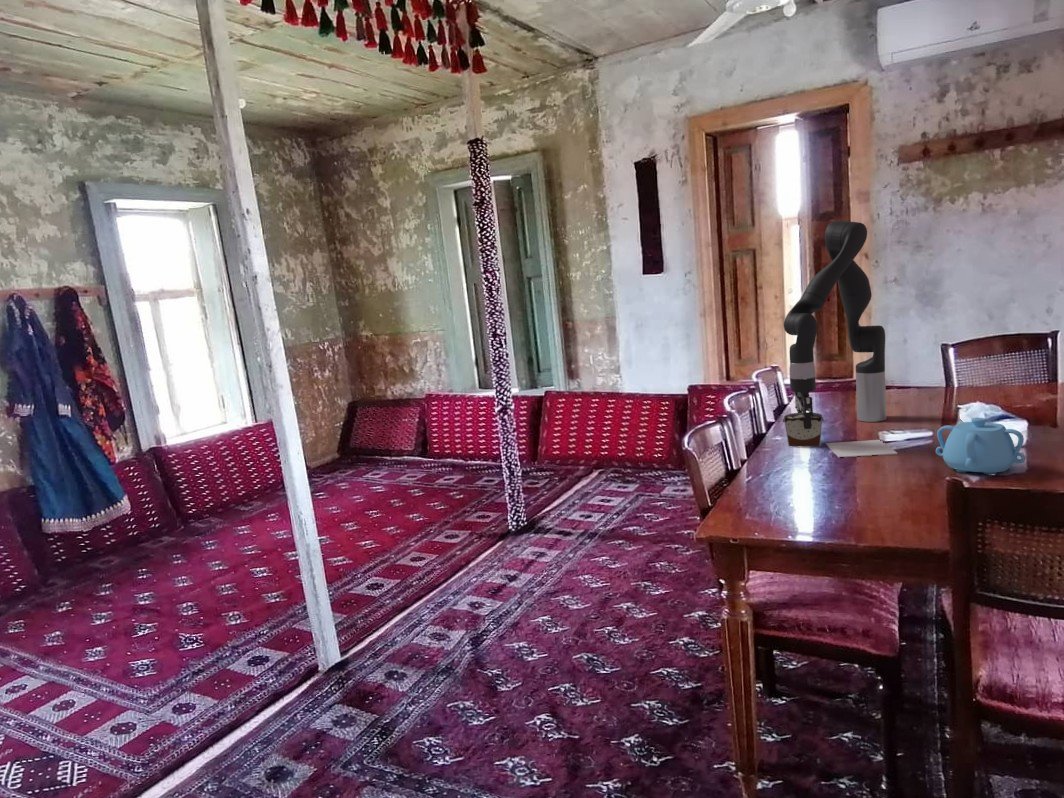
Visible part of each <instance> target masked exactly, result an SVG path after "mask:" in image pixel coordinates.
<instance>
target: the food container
mask: <svg viewBox="0 0 1064 798" xmlns="http://www.w3.org/2000/svg"><path fill="white" fill-rule="evenodd" d="M808 412H809V411H806V413H808ZM782 418H783V419H782V423H784V427H785V432H786V437H787V444H788V445H787V446H788V447H789V446H820V447H821V442H822V441H821V440H822V425H823V423H825V420H824V417H823V415H822V414H821V413H817V412H813V416H812V417H811V429H804V425H803V414H802V413H798V412H794V413H788V414H785V415H784V416H783V417H782Z"/></svg>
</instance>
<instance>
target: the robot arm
mask: <svg viewBox="0 0 1064 798" xmlns="http://www.w3.org/2000/svg"><path fill="white" fill-rule="evenodd" d="M867 238H868V230H867V227H866V225H865V223H862V222H859V221H858V222H857V221H848V220H847V221H846V220H845V221H844V220H835V221H832V222H830V223H829V224H828V225H827V226H826V229H825V233H824V242H825V246H826V250H827V252H828V255H829V257H830V260H831V261H830V263H828V264H827V265H826V266H825V267H824V268H822V269H821V270H820V271H819V272H817V273H816V274H815V275H814V276H813V277H812V278H811V279H810V281H809V283H808V284H807V287H806V288H805V290H804V291H803V294H802V295H801V298H799V300H798V301H797V302H796V303H795V305H793V306H792V307H791V309H790V310H789V311H788V313H787V314H786V317H785V318H784V321H783V329H784V331H785V333H787V334H788V335H791V336H796V340H795V343H793V344H791V345H790V346H789V352H788V353H789V386H790V387H789V389H790V391H791V393H792V392H793V393H794V399H795V400H794V402H795V403H794V404H795V407H794V408H795V409H796V413H802V414H803V425H804V429H811V417H812V416H813V413H814V407H813V406H814V405H813V397H812V396H810V393H811V392H814V391H815V390H816V389H817V387H816V386H817V385H816V384H817V383H816V382H817V381H816V368H815V367H816V366H815V361H814V346H815V343H816V338H817V335H818V334H817V333H818V322H817V319H816V317H815V316H814V315H813V314H814V313H816V312H818V311H820V310H821V309H822V308H823V307H824V305H825V303H826V301H827V299H828V298H829V295H830V294H831V292H832V290H833V288H834V287H835V285H836V284H837V285H838V290H839V295H840V299H841V303H842V306H843V310H844V314H845V319H846V324H847V332H848V340H849V345H850V348H851V350H852V352H854V353H873V354H872V356H871V357H870V358H868V359H866V360H863V361H860V362H858V363H857V364H855V385H856V386H855V388H856V389H855V390H856V391H855V392H856V416H857V418H856V419H857V420H858V421H861V422H868V423H871V422H873V423H875V422H883V421H885V420H887V394H886V390H887V389H886V331H885V328H884V327H883V326H882V325H860V319H861V317H862V315H863V314H864V312H865V310H867V308H868V306H869V304H870V302H871V300H872V290H871V289H872V288H871V285H870V280H869V278H868V276H867V274H866V272H864V270H863V269H862V268H861V267H860V265H858V263H857V262H856V261H855V258H856V257H857V255H858V254H859V253H860V252H861V250H862V248H863V247H864V245H865V243H866V241H867ZM806 412H808V413H806Z"/></svg>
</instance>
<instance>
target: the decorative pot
mask: <svg viewBox="0 0 1064 798" xmlns="http://www.w3.org/2000/svg"><path fill="white" fill-rule="evenodd" d="M944 430H949V431H951V432H950V433H949V435H948V437H947V439H946V441H945V440H944V437H943V431H944ZM1010 434H1012V435H1015V436H1016V437H1017V444H1016V447H1015V444H1014V441H1013V439H1012V437H1011V435H1010ZM936 436H937V439H938V443H939V444H940V446H938V447H936V449H935V454H936V455H937V456H939V457H942V458H943V460H944V462H945V464H946V465H947V467H949V468H951V469H955V472H957V473H967V472H974V473H983V474H984V475H985V474H990V475H989V476H992V475H991V474H996V475H997V473H1003V472H1005V471H1008V469H1010V467H1012V465H1013V464H1014V463H1015V464H1023V463H1024V462H1025V461H1026V455H1025V454H1024V453H1022V452H1020V451H1021V449H1022V447H1023V445H1024V440H1025V438H1024V435H1023V434H1022V433H1021V432H1020V430H1017V429H1013V428H1008V429H1007V428H1006V427H1005V425H1003V424H1002V423H996V422H990V421H987V418H984V417H973V418H971V419H970V421H964V422H959V423H957V424H956V425H950V424H949V425H948V424H947V425H943V426H941V427H940V428H939V429H938V430H937V432H936ZM940 450H942V452H941V451H940ZM1018 457H1020V458H1018Z"/></svg>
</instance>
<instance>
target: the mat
mask: <svg viewBox="0 0 1064 798" xmlns="http://www.w3.org/2000/svg"><path fill="white" fill-rule="evenodd" d="M880 440H881V439H870V440H857V441H841V442H840V441H839V442H825V446H827V448H829V449H830V450H831V451H832V452H833V453H834V455H836V456H837V458H839V459H840V457H844V458H857V456H861V457H873V456H872V455H878V456H890V455H891V456H892V455H895V456H896V455H898V452H897V451H896V450H894V449H893V448H892V447H890V446H889V445H888V444H886V443H885V442H884V441H883V440H881V441H880ZM883 442H884V443H883Z"/></svg>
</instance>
